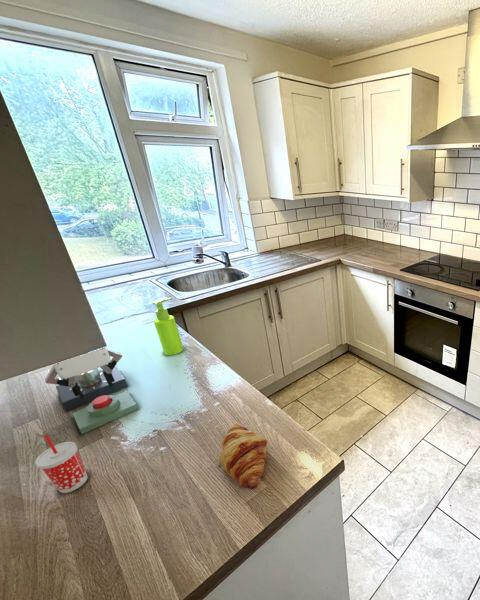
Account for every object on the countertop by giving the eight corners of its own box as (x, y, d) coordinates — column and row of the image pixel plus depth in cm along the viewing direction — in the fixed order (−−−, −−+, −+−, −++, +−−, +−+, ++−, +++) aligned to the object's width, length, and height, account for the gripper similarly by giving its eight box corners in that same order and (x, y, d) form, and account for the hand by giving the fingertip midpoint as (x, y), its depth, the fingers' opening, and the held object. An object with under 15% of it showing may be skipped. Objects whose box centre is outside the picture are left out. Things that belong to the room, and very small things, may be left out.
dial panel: (66, 411, 91) (61, 402, 90) (59, 394, 97) (55, 385, 96) (128, 386, 101) (124, 378, 100) (118, 372, 107) (114, 364, 106)
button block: (81, 434, 84) (76, 424, 82) (74, 417, 89) (69, 407, 87) (138, 408, 92) (134, 398, 91) (128, 395, 97) (124, 385, 96)
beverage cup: (66, 473, 73) (38, 426, 68) (98, 468, 75) (73, 421, 69) (46, 499, 68) (14, 450, 62) (81, 493, 69) (53, 444, 63)
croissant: (226, 446, 85) (203, 432, 80) (259, 417, 88) (239, 402, 83) (246, 511, 69) (219, 498, 64) (285, 473, 72) (262, 458, 67)
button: (96, 411, 87) (93, 406, 86) (93, 405, 89) (90, 400, 88) (113, 403, 89) (110, 398, 89) (109, 398, 92) (107, 393, 91)
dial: (77, 382, 98) (71, 369, 96) (100, 374, 101) (94, 361, 99) (80, 390, 95) (74, 376, 93) (103, 381, 98) (97, 368, 96)
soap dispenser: (189, 347, 121) (175, 298, 113) (171, 356, 116) (154, 305, 107) (179, 343, 124) (164, 295, 115) (160, 353, 118) (143, 302, 110)
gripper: (109, 314, 88) (131, 370, 96) (16, 339, 76) (49, 401, 83) (116, 323, 84) (139, 380, 91) (19, 351, 72) (54, 414, 79)
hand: (96, 389), depth 87 cm, fingers open, 5 cm apart
